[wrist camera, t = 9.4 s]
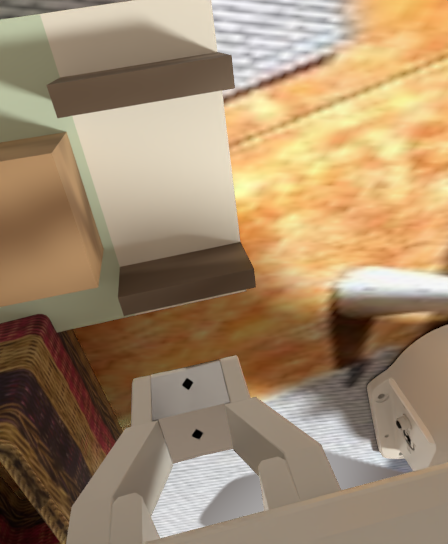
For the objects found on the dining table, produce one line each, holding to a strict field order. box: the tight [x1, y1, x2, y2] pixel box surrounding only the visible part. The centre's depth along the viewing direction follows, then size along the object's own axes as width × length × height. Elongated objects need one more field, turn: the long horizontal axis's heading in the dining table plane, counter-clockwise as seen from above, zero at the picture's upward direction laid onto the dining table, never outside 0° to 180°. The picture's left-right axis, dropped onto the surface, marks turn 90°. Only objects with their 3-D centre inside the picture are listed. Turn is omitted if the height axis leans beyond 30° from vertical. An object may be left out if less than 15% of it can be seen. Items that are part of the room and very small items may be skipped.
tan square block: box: [0, 132, 104, 307], centre depth 23 cm, size 8×8×5 cm
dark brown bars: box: [46, 52, 256, 316], centre depth 25 cm, size 14×9×4 cm, turn 8°
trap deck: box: [0, 0, 246, 332], centre depth 27 cm, size 20×30×3 cm, turn 98°
